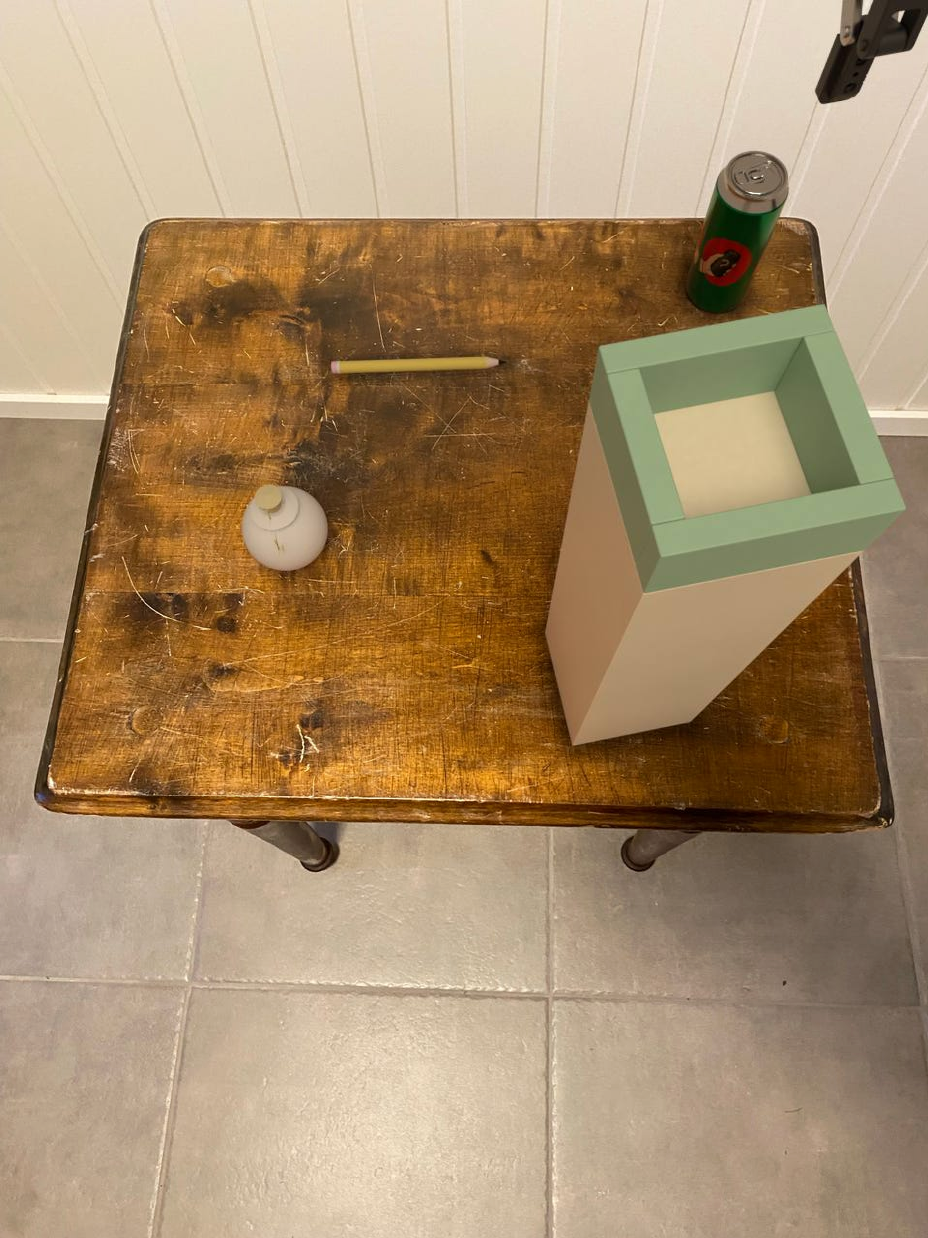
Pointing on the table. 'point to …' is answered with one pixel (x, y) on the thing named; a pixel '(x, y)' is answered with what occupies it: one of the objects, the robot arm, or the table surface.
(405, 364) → the pencil
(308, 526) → the ornament
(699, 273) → the soda can
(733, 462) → the holder
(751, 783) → the table surface
